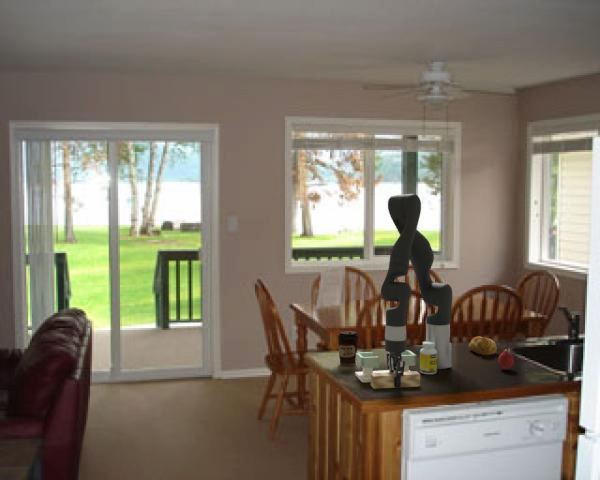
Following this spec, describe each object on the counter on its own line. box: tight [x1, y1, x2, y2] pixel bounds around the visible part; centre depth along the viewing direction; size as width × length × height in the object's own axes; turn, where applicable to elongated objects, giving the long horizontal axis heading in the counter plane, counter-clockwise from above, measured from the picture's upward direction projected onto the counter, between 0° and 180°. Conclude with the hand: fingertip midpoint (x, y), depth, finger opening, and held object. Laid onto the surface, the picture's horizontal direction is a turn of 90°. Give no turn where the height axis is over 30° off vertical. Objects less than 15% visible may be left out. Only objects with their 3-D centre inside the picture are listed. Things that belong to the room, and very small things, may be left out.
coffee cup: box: [337, 330, 359, 366], centre depth 261 cm, size 9×8×13 cm
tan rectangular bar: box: [370, 370, 421, 390], centre depth 232 cm, size 17×4×4 cm, turn 99°
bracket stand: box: [354, 349, 417, 383], centre depth 242 cm, size 21×10×9 cm, turn 100°
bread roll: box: [468, 335, 497, 356], centre depth 280 cm, size 13×10×8 cm
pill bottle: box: [419, 340, 438, 375], centre depth 248 cm, size 6×6×12 cm
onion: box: [497, 349, 515, 371], centre depth 252 cm, size 6×6×8 cm
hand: (395, 384), depth 232 cm, fingers closed on tan rectangular bar, 4 cm apart
